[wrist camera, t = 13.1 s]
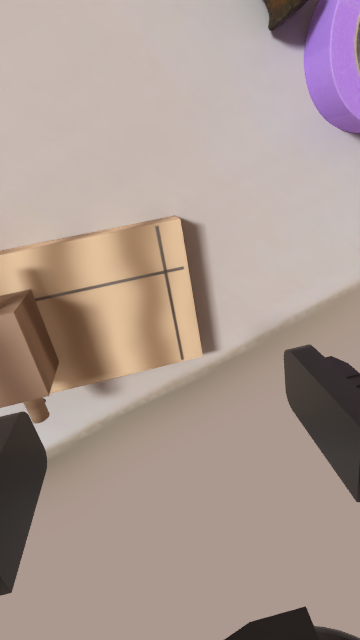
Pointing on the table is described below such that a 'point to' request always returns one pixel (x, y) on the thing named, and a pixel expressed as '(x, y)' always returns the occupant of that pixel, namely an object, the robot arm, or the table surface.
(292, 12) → the hand tool
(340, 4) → the masking tape
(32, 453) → the robot arm
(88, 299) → the oak board
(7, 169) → the table surface
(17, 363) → the tan peg block
